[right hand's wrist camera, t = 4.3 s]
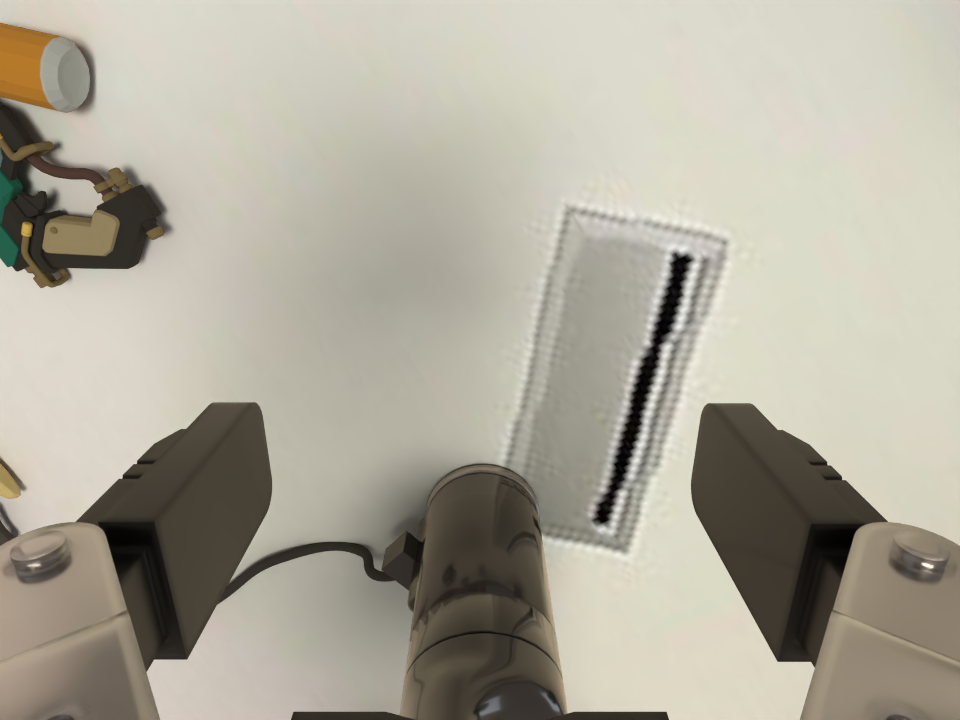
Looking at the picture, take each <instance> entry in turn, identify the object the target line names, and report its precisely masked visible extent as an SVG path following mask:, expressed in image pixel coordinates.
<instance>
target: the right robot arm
mask: <svg viewBox="0 0 960 720" xmlns="http://www.w3.org/2000/svg"><path fill="white" fill-rule="evenodd" d="M271 494H272V477H271V470H270V463H269V456H268V449H267V442H266V436H265V429H264V422H263V416H262V412H261V409H260V407H259V405H258V404H257V403H211V404H210V405H209V406H208V407H207V408H206V409H205V410H204V411H203V412H202V413H201V414H200V415H199V416H198V417H197V418H196V419H195V421H194V422H193V423H192V424H191V425H190V426H189V427H188V428H187V429H180V430H179V431H177V432H175V433H173V434H171V435H169V436H168V437H166V438H164V439H162V440H160V441H159V442H157V443H155V444H154V445H153V446H152V447H151V448H150V449H149V450H148V451H147V452H146V453H145V454H144V455H143V456H142V457H141V458H140V459H139V460H138V461H137V464H134V465H133V466H132V467H131V468H130V469H128V470H127V471H126V472H125V473H124V474H123V478H122V479H118V480H117V481H116V482H115V483H114V484H113V485H112V486H111V487H110V488H109V489H108V490H107V491H106V492H105V493H104V494H103V495H102V496H101V497H100V498H99V499H98V500H97V501H96V502H95V503H94V504H93V505H92V506H91V507H90V508H89V509H88V510H87V511H86V512H85V513H84V514H83V515H82V516H81V517H80V518H79V519H78V520H77V521H76V522H68V523H60V524H55V525H50V526H46V527H42V528H39V529H36V530H33V531H30V532H27V533H25V534H23V535H20V536H18V537H16V538H14V539H12V540H10V541H8V542H6V543H4V544H3V545H1V546H0V720H160V718H159V714H158V711H157V707H156V704H155V701H154V697H153V694H152V690H151V687H150V683H149V680H148V677H147V673H146V672H147V670H148V669H149V667H150V665H151V664H152V662H153V660H154V659H188V657H189V655H190V653H191V651H192V650H193V648H194V646H195V644H196V642H197V640H198V638H199V637H200V635H201V633H202V631H203V629H204V627H205V626H206V624H207V622H208V620H209V618H210V616H211V615H212V613H213V611H214V609H215V607H216V605H217V604H219V603H220V602H222V601H223V600H225V599H226V598H227V597H229V596H230V595H231V594H233V593H234V592H235V591H236V590H238V589H239V588H240V587H241V586H242V585H244V584H245V583H246V582H247V581H248V580H250V579H251V578H252V577H254V576H255V575H256V574H258V573H260V572H261V571H263V570H265V569H267V568H269V567H271V566H274V565H277V564H279V563H282V562H286V561H289V560H292V559H295V558H298V557H302V556H305V555H309V554H313V553H318V552H323V551H346V552H350V553H354V554H356V555H359V556H361V557H362V558H363V561H364V568H365V572H366V573H367V575H368V576H369V577H370V578H372V579H373V580H376V581H395V580H396V581H397V582H398V583H400V584H401V585H402V586H404V587H405V588H406V589H408V590H409V596H408V607H409V609H410V610H411V611H412V612H413V619H412V627H411V634H410V643H409V650H408V658H407V665H406V673H405V680H404V687H403V695H402V703H401V710H400V715H396V714H392V713H388V712H293V715H292V718H291V720H669V718H668V715H667V712H572V713H568V714H567V704H566V697H565V691H564V684H563V679H562V673H561V666H560V659H559V652H558V646H557V639H556V633H555V626H554V619H553V612H552V605H551V598H550V591H549V584H548V577H547V571H546V564H545V557H544V550H543V543H542V536H541V529H540V514H539V507H538V502H537V499H536V496H535V494H534V492H533V490H532V489H531V487H530V486H529V485H528V484H527V483H526V482H525V481H524V480H523V479H522V478H521V477H520V476H518V475H517V474H515V473H513V472H511V471H509V470H507V469H504V468H501V467H497V466H491V465H474V466H468V467H464V468H461V469H458V470H456V471H454V472H452V473H450V474H449V475H447V476H446V477H444V478H443V479H442V480H441V481H440V482H439V483H438V484H437V485H436V486H435V488H434V489H433V491H432V492H431V494H430V496H429V499H428V503H427V508H426V516H425V518H424V519H423V520H422V521H421V522H420V523H419V530H418V536H417V539H416V538H415V537H414V536H413V535H411V534H410V533H409V532H408V531H406V532H405V533H404V534H403V535H402V536H400V537H399V538H398V539H397V540H396V541H395V542H393V543H392V544H391V545H390V546H389V547H388V548H386V552H385V556H384V561H383V565H382V571H384V572H382V571H378V570H377V569H375V568H374V564H373V557H372V554H371V553H370V551H369V550H368V549H367V548H365V547H362V546H360V545H358V544H354V543H347V542H322V543H315V544H310V545H306V546H303V547H299V548H296V549H292V550H289V551H286V552H283V553H280V554H277V555H274V556H272V557H269V558H267V559H265V560H263V561H261V562H259V563H257V564H256V565H254V566H253V567H251V568H250V569H248V570H247V571H246V572H244V573H243V574H242V575H241V576H239V577H238V578H237V579H236V580H235V581H234V582H232V583H231V584H230V585H229V586H228V587H227V585H228V583H229V582H230V580H231V578H232V576H233V574H234V572H235V570H236V569H237V567H238V565H239V563H240V561H241V559H242V558H243V556H244V554H245V552H246V550H247V548H248V547H249V545H250V543H251V541H252V539H253V537H254V536H255V534H256V532H257V530H258V528H259V526H260V525H261V523H262V521H263V519H264V517H265V515H266V513H267V511H268V508H269V505H270V501H271ZM691 494H692V501H693V505H694V509H695V512H696V514H697V516H698V518H699V520H700V521H701V523H702V525H703V527H704V529H705V531H706V532H707V534H708V536H709V538H710V540H711V541H712V543H713V545H714V547H715V549H716V550H717V552H718V554H719V556H720V558H721V560H722V561H723V563H724V565H725V567H726V569H727V570H728V572H729V574H730V576H731V578H732V580H733V581H734V583H735V585H736V587H737V589H738V590H739V592H740V594H741V596H742V598H743V600H744V601H745V603H746V605H747V607H748V609H749V610H750V612H751V614H752V616H753V618H754V620H755V621H756V623H757V625H758V627H759V629H760V630H761V632H762V634H763V636H764V638H765V639H766V641H767V643H768V645H769V647H770V649H771V650H772V652H773V654H774V656H775V658H776V659H777V661H778V662H812V664H813V666H814V667H815V670H814V673H813V677H812V680H811V683H810V687H809V690H808V694H807V697H806V701H805V704H804V707H803V711H802V714H801V718H800V720H960V546H959V545H957V544H956V543H954V542H952V541H950V540H948V539H946V538H944V537H942V536H940V535H937V534H935V533H933V532H930V531H927V530H924V529H921V528H918V527H914V526H910V525H905V524H900V523H892V522H888V521H887V520H886V519H885V518H884V517H883V516H882V515H880V514H879V513H878V512H877V511H876V510H875V509H874V508H873V507H872V506H871V505H870V504H869V503H868V502H867V501H866V500H865V499H864V498H863V497H862V496H861V495H860V494H859V493H858V492H857V491H856V490H855V489H854V488H853V487H852V486H851V485H850V484H849V483H848V482H847V481H846V480H842V476H841V475H840V474H839V473H838V472H837V471H836V470H835V469H834V468H833V467H832V466H827V461H826V460H825V459H823V458H822V457H821V456H820V455H819V454H818V453H817V452H816V451H815V450H814V449H813V448H812V447H811V446H810V445H809V444H807V443H805V442H803V441H802V440H800V439H798V438H796V437H794V436H793V435H791V434H789V433H787V432H785V431H783V430H777V429H776V428H775V427H774V426H773V425H772V424H771V423H770V422H769V421H768V419H767V418H766V417H765V416H764V415H763V414H762V413H761V412H760V411H759V410H758V409H757V408H756V407H755V406H754V405H753V404H750V403H708V404H707V405H706V406H705V407H704V408H703V411H702V414H701V419H700V425H699V432H698V439H697V445H696V452H695V459H694V465H693V472H692V479H691Z"/></svg>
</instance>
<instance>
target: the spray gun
mask: <svg viewBox="0 0 960 720" xmlns="http://www.w3.org/2000/svg"><path fill="white" fill-rule="evenodd" d="M89 88H90V74H89V68H88V65H87V63H86V60H85V58H84V56H83V55H82V53H81V51H80V50H79V49H78V48H77V46H76V45H75V44H74V43H73V42H72V41H70V40H68V39H66V38H63V37H61V36H56V35H52V34H47V33H43V32H38V31H34V30H30V29H25V28H21V27H16V26H12V25H8V24H3V23H0V97H4V98H8V99H12V100H16V101H20V102H24V103H28V104H32V105H36V106H40V107H45V108H49V109H53V110H57V111H61V112H65V113H67V112H71V111H73V110H75V109H77V108H78V107H79V106H80V105H81V104H82V103H83V102H84V100H85V99H86V98H87V95H88V92H89ZM53 147H54V146H53V144H52V143H51V142H39V143H34V142H33V141H32V139H31V138H30V137H29V135H28V134H27V132H26V131H25V130H24V128H23V127H22V126H21V124H20V123H19V121H18V120H17V119H16V117H15V116H14V114H13V113H12V112H11V110H10V109H8V108H6V107H4V106H2V105H0V258H1V260H2V261H3V262H4V263H5V265H6V266H7V267H10V266H12V267H13V268H14V269H15V271H20V270H22V269H25V270H26V271H27V272H28V273H33V274H34V275H35V277H34V278H33V279H34V280H35V282H36V283H37V284H38V286H39V287H40V288H43V287H45V286H49V287H56V286H59V285H62V284H63V283H64V282H66V281H67V280H68V273H67V272H66V270H65V269H64V268H92V269H129V268H131V267H133V266H135V265H136V264H138V263H139V259H140V256H141V252H142V249H143V245H144V242H145V238H146V235H148V236H149V238H150V239H151V240H154V239H157V238H159V237H161V236H163V235H164V233H165V232H164V231H163V229H162V227H161V226H158V225H157V224H156V222H157V220H156V219H155V217H156V216H157V215H159V214H161V212H160V210H159V209H158V207H157V206H156V204H155V203H154V201H153V200H152V198H151V197H150V195H149V194H148V192H147V191H146V189H145V188H144V186H143V185H140V186H137V187H134V188H133V187H132V185H131V184H128V181H127V179H128V178H127V177H126V175H125V174H124V172H121V170H120V169H119V168H113V169H111V170H109V172H108V175H109V176H110V177H111V178H110V179H108V180H105V179H104V178H103V177H102V176H101V175H100V174H98V173H97V172H95V171H93V170H89V169H85V168H63V167H58V166H54V165H51V164H49V163H47V162H46V161H44V160H43V159H42V158H40V156H42V155H44V154H46V153H48V152H49V151H51V150H52V149H53ZM24 158H26V159H27V160H28V161H29V162H30V163H31V164H32V165H33V166H34V167H35V168H37V169H38V170H40V171H41V172H44V173H46V174H48V175H51V176H54V177H58V178H65V179H86V180H90V181H91V182H92V183H93V184H95V185H96V186H94V189H95V190H96V192H97V193H101V194H102V195H103V197H102V200H103V201H104V203H102V204H100V205H99V206H97V210H95V212H94V214H93V216H92V218H85V217H76V216H68V215H63V214H62V212H61V211H60V210H59V211H54V212H51V213H47V214H44V215H40V216H37V215H38V214H41V213H44V211H43V210H44V209H45V207H46V204H47V196H46V192H44V191H40V192H39V191H38V194H37V196H35V197H34V196H31V195H27V194H25V193H24V192H23V193H22V191H23V185H22V184H21V182H20V181H19V179H18V178H17V175H18V171H19V168H20V164H21V160H22V159H24ZM114 185H116V186H117V187H119V192H120V193H121V194H118V192H116V191H113V190H112V187H113V186H114ZM56 271H59V272H60V274H61V275H62V277H61V278H59V279H58V280H56V279H55V278H54V276H53V275H52V273H54V272H56Z"/></svg>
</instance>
